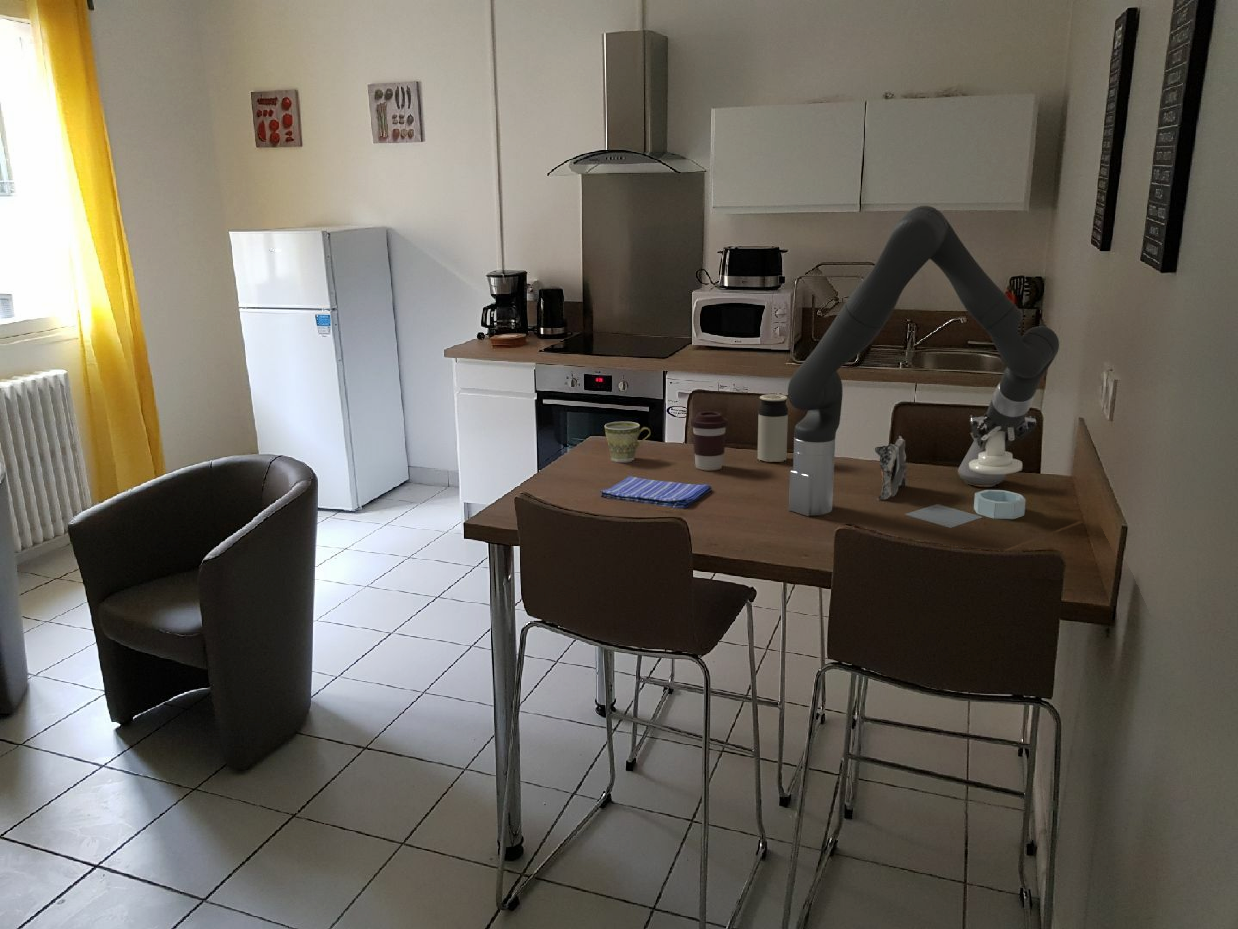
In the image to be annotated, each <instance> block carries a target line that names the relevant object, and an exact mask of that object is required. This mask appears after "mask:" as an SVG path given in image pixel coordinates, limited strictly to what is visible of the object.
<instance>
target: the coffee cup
mask: <svg viewBox="0 0 1238 929" xmlns="http://www.w3.org/2000/svg"><path fill="white" fill-rule="evenodd" d="M728 420H729V419H728V418H726V417H724V416H723V413H721V412H717V411H701V412H697V413H696V415H695V417H693V418H691V419H690V426H691V427H693V428H692V429H693V430H692V440H693V454H694V459H695V460H694V461H695V468H696V469H698V470H700V471H707V472H708V471H711V472H712V471H713V472H714V471H718V470H721V469H722V468H723V461H724V454H725V447H726V435H727V432H726V427H728V425H729V424H728V423H729V421H728Z"/></svg>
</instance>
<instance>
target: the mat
mask: <svg viewBox="0 0 1238 929" xmlns="http://www.w3.org/2000/svg"><path fill="white" fill-rule="evenodd" d="M904 515H905V516H909V517H913V518H914V519H919V520H922V521H925V522H927V523H928V522H929V523H932V524H936V525H940V526H942V527H946V528H949V529H952V528H954V527H957V526H961V525H964V524H967V523H970V522H972V521H975V520H979V519H981V518H983V515H979V514H974V513H970V512H966V511H963V510H959V509H957V508H952V507H949V506H945V505H942V504H938V503H937V504H934V505H930V506H927V507H923V508H921V509H917V510H914V511H910V512H906V513H904Z"/></svg>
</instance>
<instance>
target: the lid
mask: <svg viewBox="0 0 1238 929" xmlns="http://www.w3.org/2000/svg"><path fill="white" fill-rule="evenodd" d="M969 470H971V471H973V472H976V473H982V474H1008V475H1009V474H1015V473H1018V472H1021V471H1022V470H1023V462H1022V461H1021V460H1020V459H1016V458H1013V453H1012V452H1010V451H1006V449H1005V432H1003V431H997V432H996V433H995V434H994V435H993V436H989V437H988V438H987V442H986V451H985V452H981V453H979V454H978V459H975V460H972V461H970V462H969Z"/></svg>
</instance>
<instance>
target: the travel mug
mask: <svg viewBox="0 0 1238 929" xmlns="http://www.w3.org/2000/svg"><path fill="white" fill-rule="evenodd" d="M759 399H760V402H761V403H760V405H759V407H758V418H757V419H758V426H757V432H758V433H757V460H758V459H759V461H760V460H763V461H770V462H771V461H782V460H785V461H786V460H787V454H788V453H787V449H788V422H789V421H788V418H789V415H788V414H789V411H788V410H789V408H788V406H787V399H788V395H784V394H775V393H773V394H763V395H760V396H759Z"/></svg>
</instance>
